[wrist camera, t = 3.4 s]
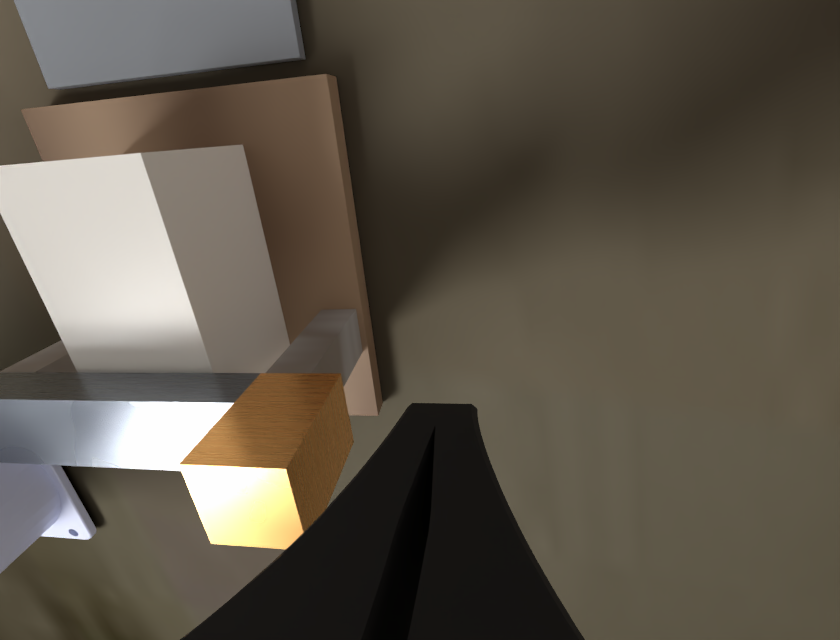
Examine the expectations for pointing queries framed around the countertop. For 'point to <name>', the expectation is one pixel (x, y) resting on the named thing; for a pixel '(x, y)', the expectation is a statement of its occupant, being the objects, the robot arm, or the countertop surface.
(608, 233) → the countertop surface
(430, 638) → the robot arm
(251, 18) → the mat
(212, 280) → the white block
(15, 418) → the gray and orange bar
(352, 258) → the brown stand with pegs
